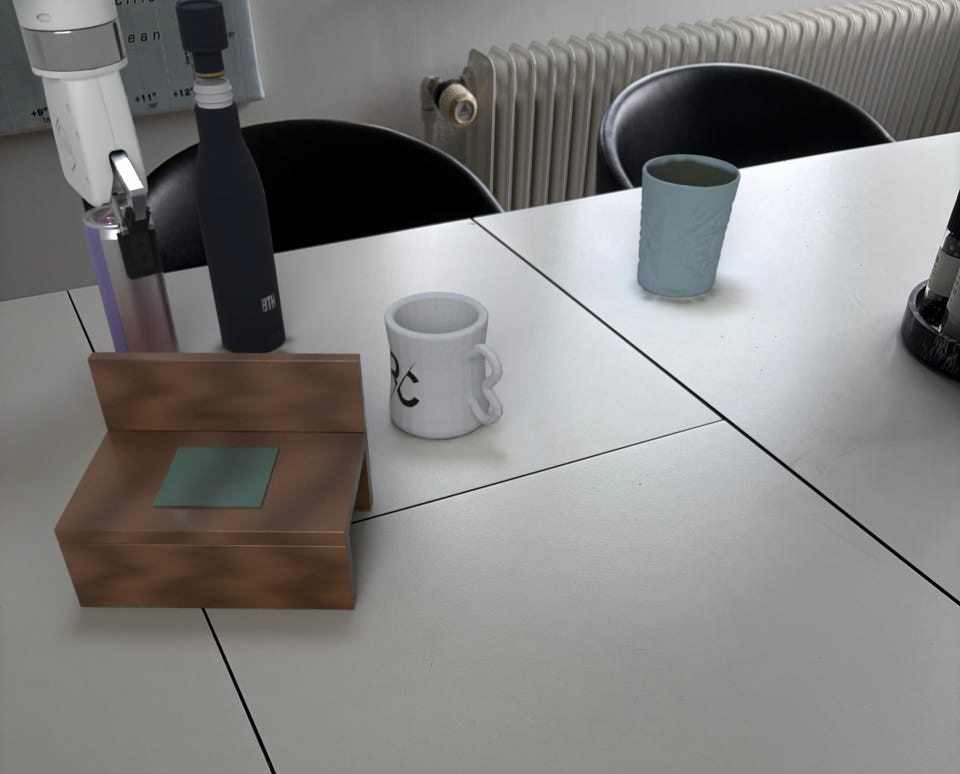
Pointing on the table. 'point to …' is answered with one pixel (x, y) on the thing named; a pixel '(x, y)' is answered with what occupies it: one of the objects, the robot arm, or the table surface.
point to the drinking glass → (684, 222)
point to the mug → (441, 365)
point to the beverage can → (128, 292)
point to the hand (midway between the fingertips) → (127, 256)
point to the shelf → (221, 482)
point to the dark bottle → (230, 195)
